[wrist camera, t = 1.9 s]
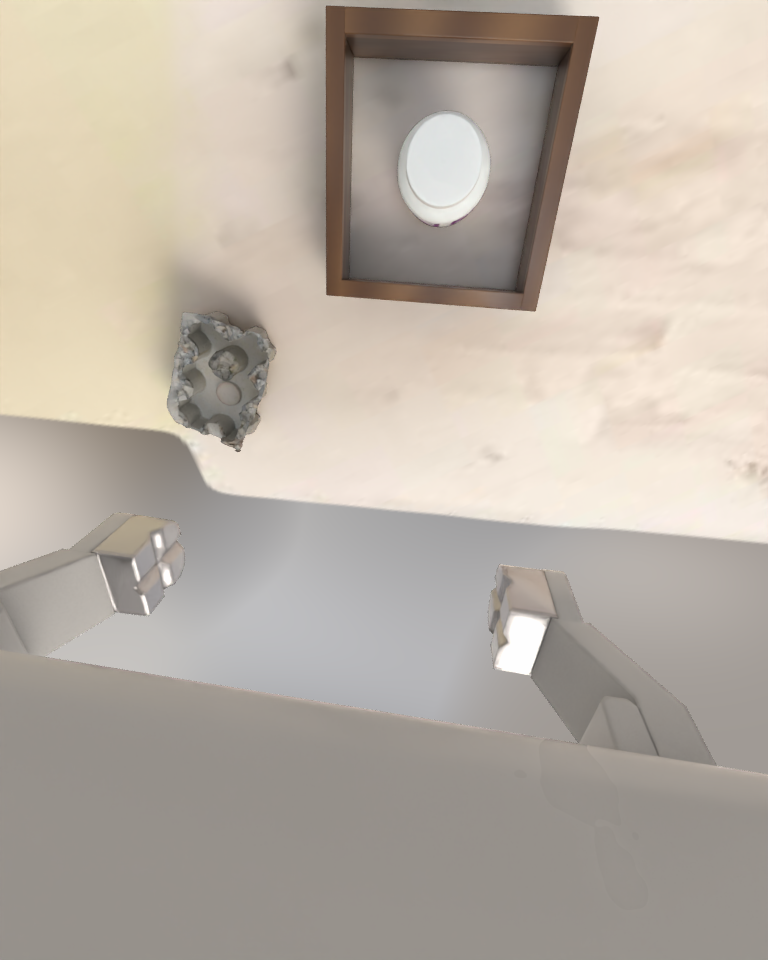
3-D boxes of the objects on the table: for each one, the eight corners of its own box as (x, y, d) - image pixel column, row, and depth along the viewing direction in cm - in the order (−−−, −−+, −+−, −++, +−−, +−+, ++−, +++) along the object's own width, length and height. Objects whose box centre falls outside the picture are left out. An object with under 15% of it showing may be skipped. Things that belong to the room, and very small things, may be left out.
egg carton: (256, 440, 42) (240, 459, 38) (181, 409, 41) (157, 425, 38) (287, 336, 37) (271, 347, 33) (202, 298, 36) (177, 305, 32)
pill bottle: (474, 126, 29) (491, 76, 21) (484, 216, 31) (504, 205, 23) (396, 151, 30) (382, 113, 22) (411, 236, 32) (404, 232, 24)
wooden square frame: (337, 290, 35) (326, 295, 31) (339, 36, 28) (325, 5, 24) (524, 304, 34) (535, 311, 30) (577, 46, 27) (599, 16, 23)
